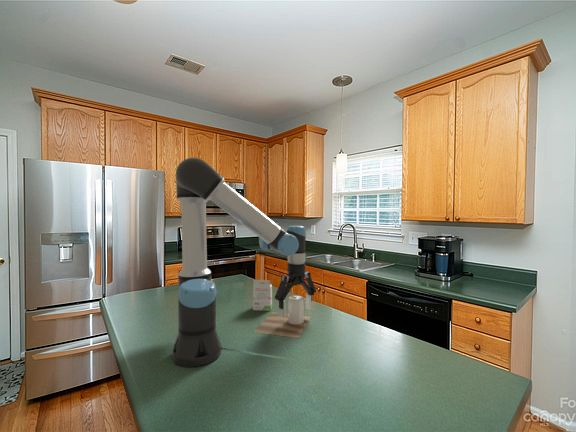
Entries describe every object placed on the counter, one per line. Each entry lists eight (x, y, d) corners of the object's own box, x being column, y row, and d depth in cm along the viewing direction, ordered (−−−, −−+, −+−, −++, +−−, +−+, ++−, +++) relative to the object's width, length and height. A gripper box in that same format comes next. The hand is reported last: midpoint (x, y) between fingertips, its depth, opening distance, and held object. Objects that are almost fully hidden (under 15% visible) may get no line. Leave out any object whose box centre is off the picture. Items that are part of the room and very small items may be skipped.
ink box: (272, 308, 136) (272, 277, 135) (270, 312, 131) (270, 280, 130) (254, 307, 136) (254, 277, 136) (252, 311, 132) (252, 279, 131)
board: (298, 339, 103) (298, 324, 103) (253, 333, 108) (253, 318, 108) (310, 317, 124) (311, 305, 124) (272, 313, 129) (272, 301, 129)
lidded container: (306, 321, 118) (306, 297, 118) (295, 325, 114) (296, 300, 114) (295, 317, 123) (296, 294, 123) (285, 320, 119) (285, 297, 119)
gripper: (313, 258, 128) (312, 304, 129) (266, 264, 114) (266, 316, 114) (324, 260, 122) (324, 309, 123) (276, 267, 108) (276, 322, 108)
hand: (296, 312), depth 119 cm, fingers open, 13 cm apart
